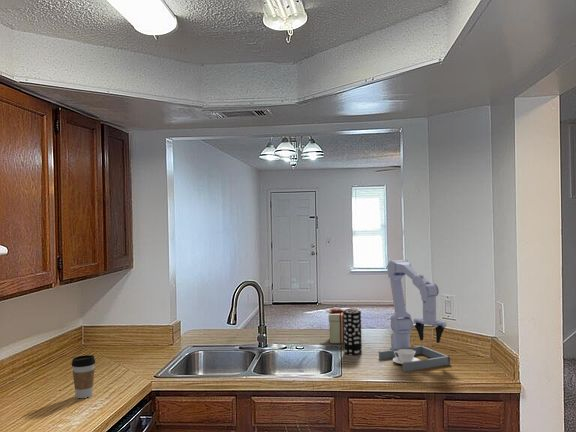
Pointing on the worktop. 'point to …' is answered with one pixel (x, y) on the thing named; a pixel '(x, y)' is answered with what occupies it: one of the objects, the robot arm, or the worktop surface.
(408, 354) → the teacup
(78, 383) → the coffee cup
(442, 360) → the cubby
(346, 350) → the spotted tube
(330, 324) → the gift box
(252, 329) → the worktop surface
